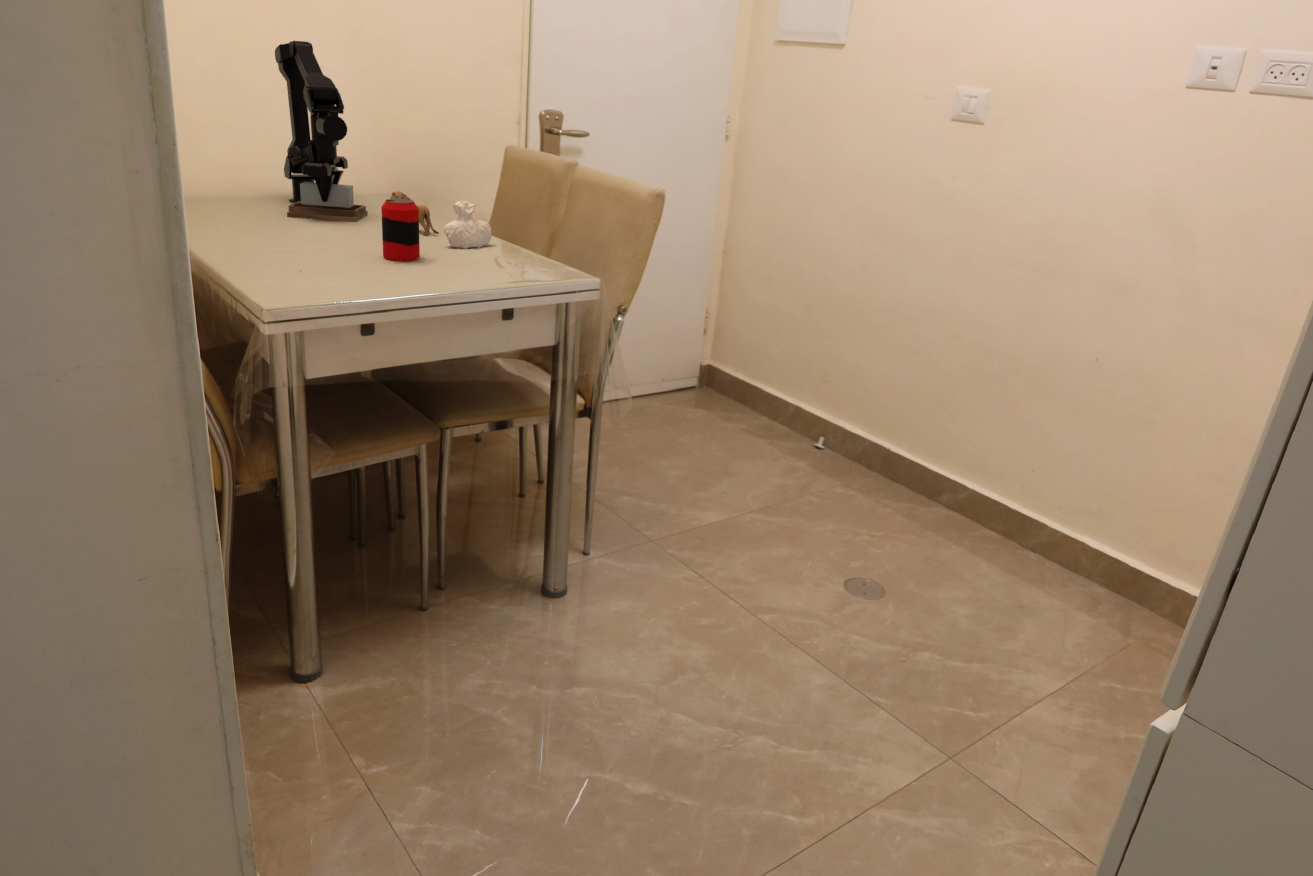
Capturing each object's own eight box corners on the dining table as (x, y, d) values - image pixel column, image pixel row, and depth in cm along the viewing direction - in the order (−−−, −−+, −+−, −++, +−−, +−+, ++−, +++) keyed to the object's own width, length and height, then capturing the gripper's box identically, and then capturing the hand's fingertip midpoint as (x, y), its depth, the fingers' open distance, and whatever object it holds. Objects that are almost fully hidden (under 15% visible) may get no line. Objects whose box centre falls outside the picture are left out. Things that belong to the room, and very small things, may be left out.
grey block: (306, 201, 232) (304, 181, 231) (353, 205, 233) (352, 185, 231) (301, 204, 229) (299, 183, 227) (349, 207, 230) (348, 187, 228)
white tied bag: (488, 253, 216) (474, 210, 217) (502, 238, 210) (487, 194, 212) (443, 256, 209) (428, 212, 210) (455, 241, 203) (440, 196, 204)
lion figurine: (384, 228, 223) (383, 190, 220) (399, 225, 228) (398, 189, 224) (431, 237, 217) (431, 199, 214) (446, 234, 222) (445, 197, 218)
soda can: (381, 254, 196) (379, 197, 191) (416, 254, 199) (415, 198, 194) (385, 261, 190) (383, 203, 185) (422, 261, 192) (421, 204, 188)
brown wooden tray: (301, 209, 237) (300, 200, 236) (367, 214, 238) (367, 205, 237) (287, 216, 226) (286, 206, 225) (356, 221, 228) (355, 211, 227)
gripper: (302, 130, 233) (306, 193, 239) (277, 136, 216) (282, 203, 222) (346, 134, 233) (349, 196, 239) (325, 140, 216) (328, 207, 222)
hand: (327, 200), depth 231 cm, fingers closed on grey block, 4 cm apart
